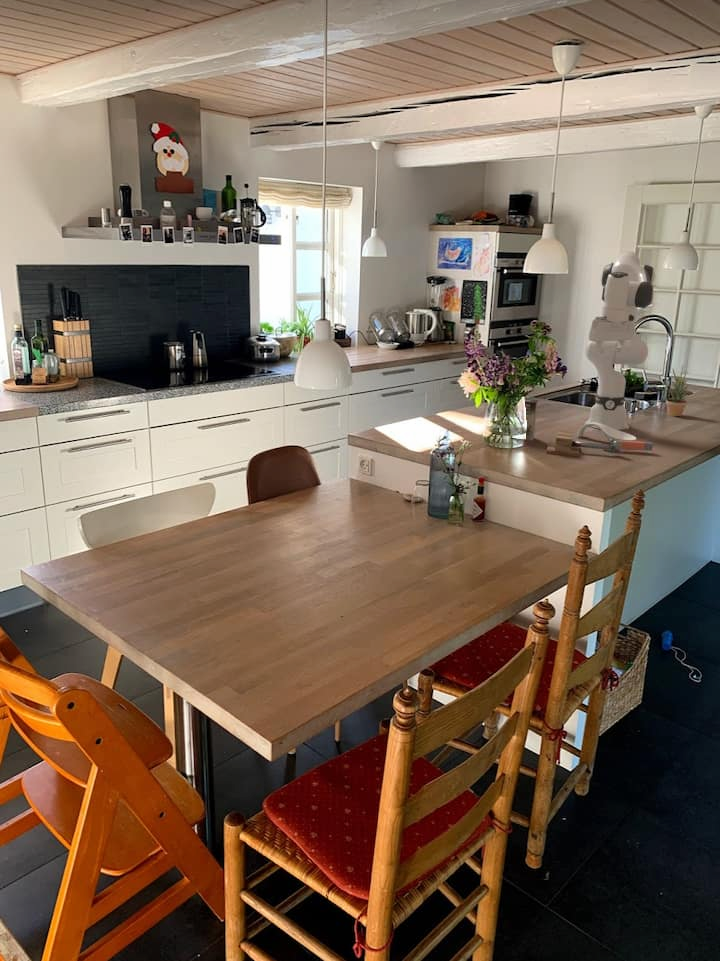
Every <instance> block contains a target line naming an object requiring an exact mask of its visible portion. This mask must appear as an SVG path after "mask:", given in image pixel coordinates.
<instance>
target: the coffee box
mask: <svg viewBox="0 0 720 961" xmlns="http://www.w3.org/2000/svg"><path fill="white" fill-rule="evenodd" d="M524 399H525V407H526V420H527V431H526V440H525V441H529V442H530V441H531V442H532V441H533V440H534V437H535V426H536V418H537V410H538V400H537V399H531V398H524Z"/></svg>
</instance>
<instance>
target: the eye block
mask: <svg viewBox="0 0 720 961" xmlns="http://www.w3.org/2000/svg"><path fill="white" fill-rule="evenodd" d="M573 436H574V431H562V430H561V431H560V430H557V432H556V438H555V442H554V441H548V444H547V448H546V454H550V455H558V456H559V455H560V456H569V457H570V456H571V457H580V448H581V447H573V446H572V441H573V439H574V437H573Z"/></svg>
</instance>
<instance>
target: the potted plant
mask: <svg viewBox="0 0 720 961" xmlns="http://www.w3.org/2000/svg"><path fill="white" fill-rule="evenodd" d="M683 368H684V365H682V367H681V371H680V375H679V374H677V375H676V373H675V370H674V367H672V372H673V374H672V375H673V378H674V381H675V382H674V381H673V379H671V383H672V386H673V388H672V390H671V389H668V391H669V392H670V395H671V396H672V397H671V398H666V399H665V404H666V408H667V409H666V410H667V415H668V416H669V415H671V416H670V417H674V416H680V417H682V415H683V412H684V410H685V408H686V406H687V405H688V401H687V400H686V397H687V396H688V392H689V390H688V387H689V384H688V385H687V386H685V385H686V384H687V381H688V379H686V376H687V372H685V374H684V376H683V372H684V370H683ZM682 377H683V378H682ZM685 379H686V380H685Z"/></svg>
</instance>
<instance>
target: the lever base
mask: <svg viewBox="0 0 720 961" xmlns="http://www.w3.org/2000/svg"><path fill="white" fill-rule="evenodd" d="M614 440H615V439H610V442H609V445H613V442H614ZM602 451H603V452H607V453H613V452H612V450H606V449H602Z"/></svg>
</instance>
